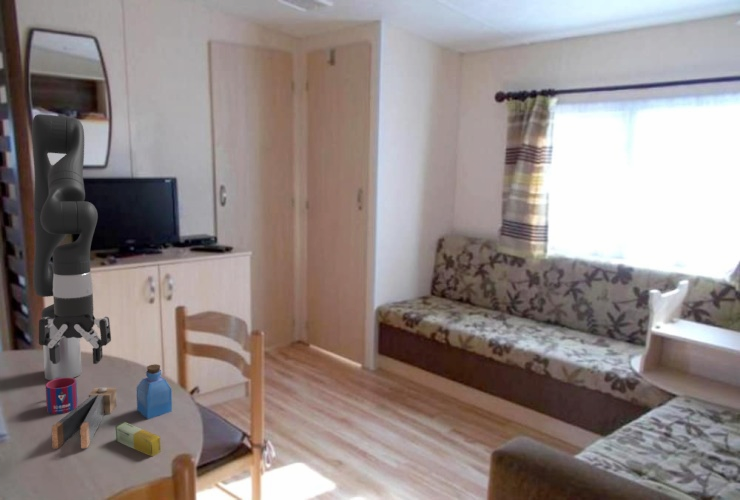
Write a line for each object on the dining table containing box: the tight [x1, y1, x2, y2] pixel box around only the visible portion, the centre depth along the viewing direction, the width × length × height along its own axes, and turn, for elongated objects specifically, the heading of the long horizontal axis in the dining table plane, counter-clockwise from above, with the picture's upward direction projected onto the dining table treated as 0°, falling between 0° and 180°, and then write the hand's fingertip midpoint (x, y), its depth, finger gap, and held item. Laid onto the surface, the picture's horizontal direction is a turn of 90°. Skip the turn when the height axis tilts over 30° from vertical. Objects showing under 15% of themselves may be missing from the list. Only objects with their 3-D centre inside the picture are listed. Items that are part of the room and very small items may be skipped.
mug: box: [45, 377, 78, 415], centre depth 134 cm, size 7×10×7 cm
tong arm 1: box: [51, 395, 97, 450], centre depth 122 cm, size 16×1×5 cm, turn 178°
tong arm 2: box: [79, 395, 105, 449], centre depth 122 cm, size 16×1×5 cm, turn 14°
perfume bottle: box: [136, 363, 173, 420], centre depth 133 cm, size 6×6×12 cm
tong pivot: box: [88, 387, 117, 415], centre depth 132 cm, size 4×5×6 cm
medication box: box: [115, 421, 162, 457], centre depth 117 cm, size 12×3×4 cm, turn 63°
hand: (76, 362), depth 117 cm, fingers open, 8 cm apart
